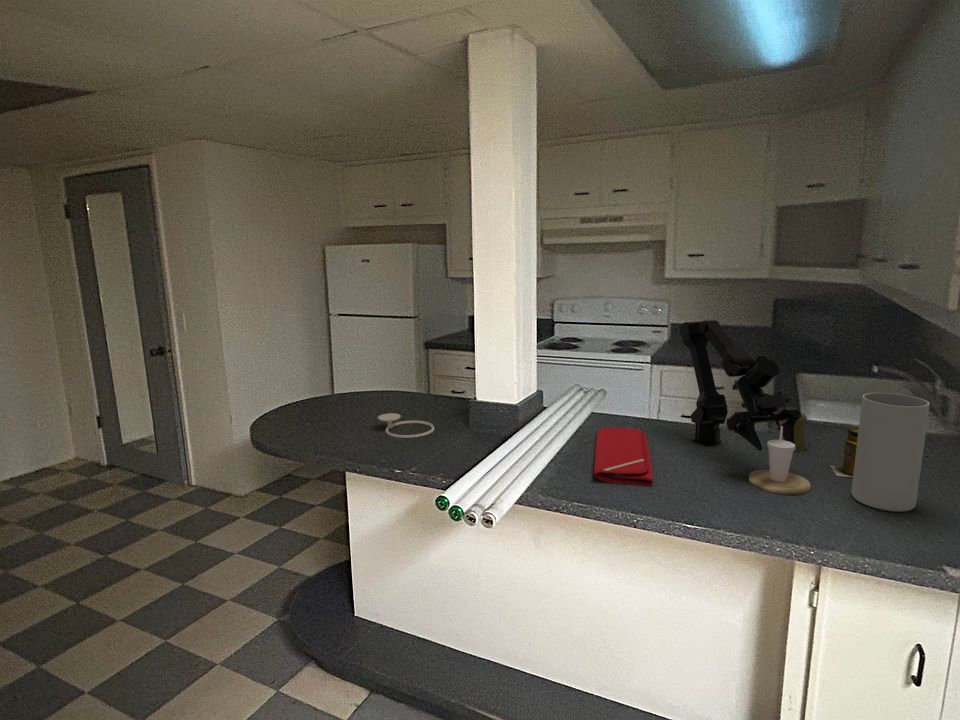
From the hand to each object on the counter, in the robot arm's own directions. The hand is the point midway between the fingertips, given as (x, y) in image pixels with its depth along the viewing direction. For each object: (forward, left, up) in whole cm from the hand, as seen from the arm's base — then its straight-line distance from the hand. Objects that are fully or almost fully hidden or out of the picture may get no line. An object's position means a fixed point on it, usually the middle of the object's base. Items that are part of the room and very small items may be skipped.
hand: (777, 448), depth 145 cm
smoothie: (+1, -1, -8) cm, 8 cm away
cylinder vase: (+22, +8, -9) cm, 25 cm away
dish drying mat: (-36, -17, -10) cm, 41 cm away
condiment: (+10, +21, -9) cm, 25 cm away
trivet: (+2, -1, -9) cm, 9 cm away
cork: (-9, +29, -9) cm, 32 cm away
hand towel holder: (-99, -56, -9) cm, 114 cm away
